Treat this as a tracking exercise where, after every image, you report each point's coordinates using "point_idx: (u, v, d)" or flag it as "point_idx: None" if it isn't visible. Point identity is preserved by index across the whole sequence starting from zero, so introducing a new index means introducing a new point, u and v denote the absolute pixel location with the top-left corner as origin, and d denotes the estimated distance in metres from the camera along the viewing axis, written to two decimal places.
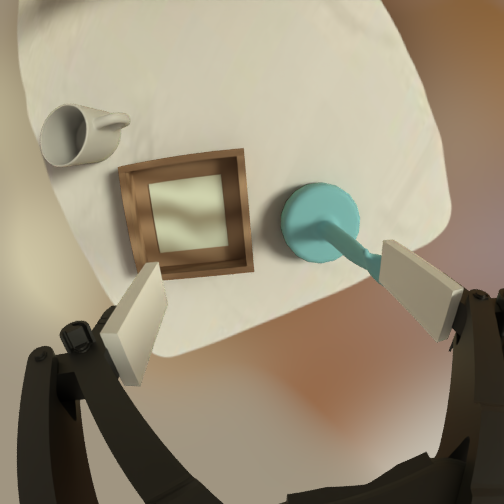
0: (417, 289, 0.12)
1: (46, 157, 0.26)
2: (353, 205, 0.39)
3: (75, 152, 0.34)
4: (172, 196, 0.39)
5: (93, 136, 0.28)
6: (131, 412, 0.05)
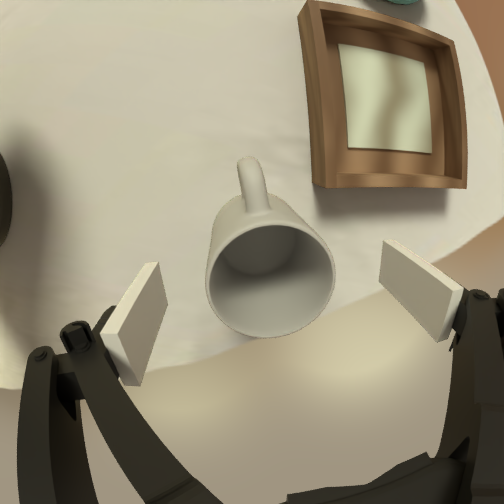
0: (417, 289, 0.12)
1: (305, 322, 0.18)
2: None
3: (279, 273, 0.26)
4: (367, 114, 0.23)
5: (286, 215, 0.17)
6: (131, 412, 0.05)
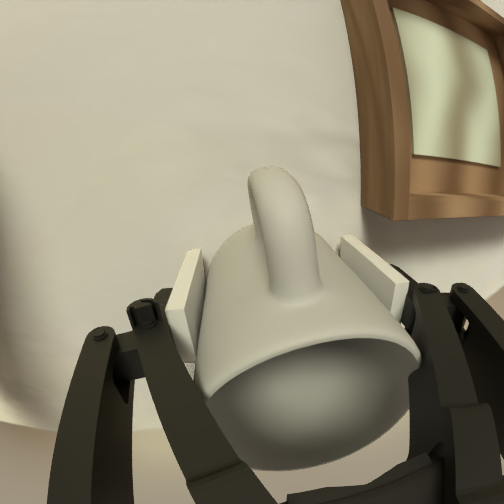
0: (367, 282, 0.13)
1: (356, 446, 0.09)
2: None
3: None
4: (436, 108, 0.13)
5: (353, 298, 0.08)
6: (190, 390, 0.06)
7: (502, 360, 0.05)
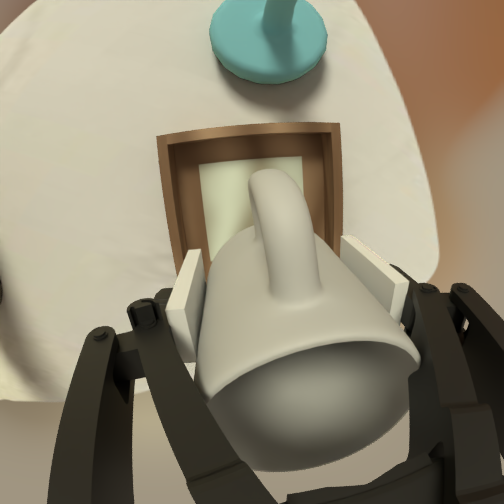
0: (367, 282, 0.13)
1: (355, 448, 0.09)
2: None
3: None
4: (227, 230, 0.30)
5: (353, 301, 0.08)
6: (190, 390, 0.06)
7: (502, 360, 0.05)
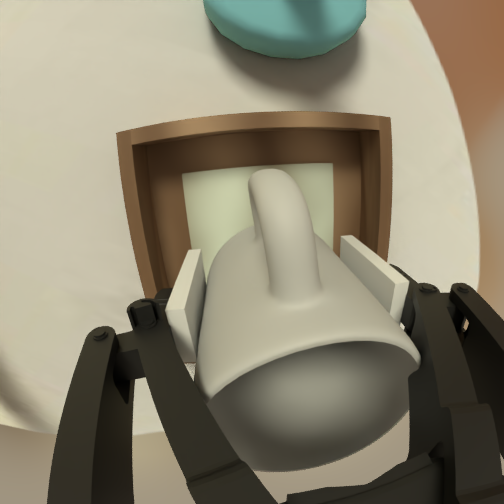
0: (367, 282, 0.13)
1: (355, 448, 0.09)
2: None
3: None
4: None
5: (353, 301, 0.08)
6: (190, 390, 0.06)
7: (502, 360, 0.05)
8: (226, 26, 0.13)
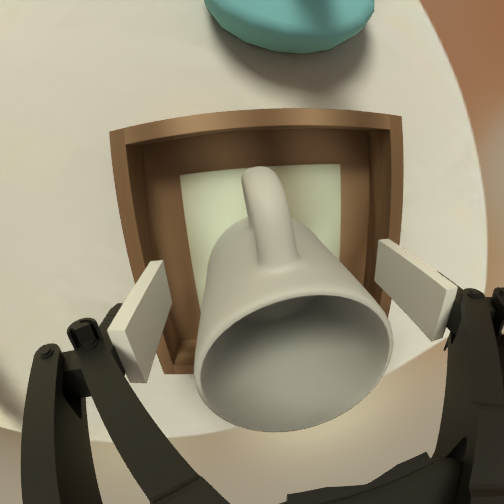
0: (411, 288, 0.12)
1: (340, 410, 0.11)
2: None
3: (298, 323, 0.19)
4: None
5: (325, 268, 0.10)
6: (137, 409, 0.06)
7: None
8: (227, 18, 0.12)
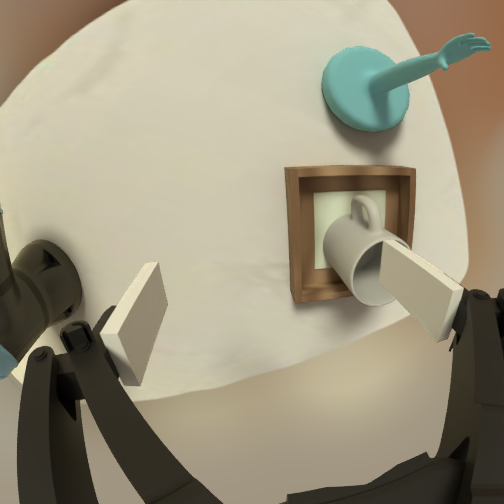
0: (417, 289, 0.12)
1: None
2: (348, 51, 0.26)
3: (367, 269, 0.36)
4: None
5: (390, 233, 0.28)
6: (131, 412, 0.05)
7: None
8: (341, 113, 0.30)
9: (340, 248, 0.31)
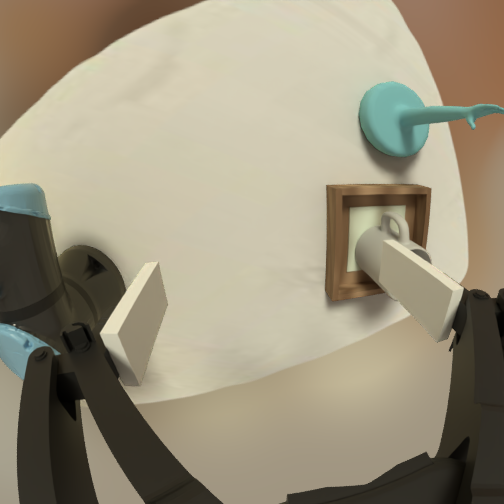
0: (417, 289, 0.12)
1: None
2: (384, 87, 0.32)
3: None
4: None
5: (415, 243, 0.33)
6: (131, 412, 0.05)
7: None
8: (376, 141, 0.36)
9: (375, 255, 0.37)
